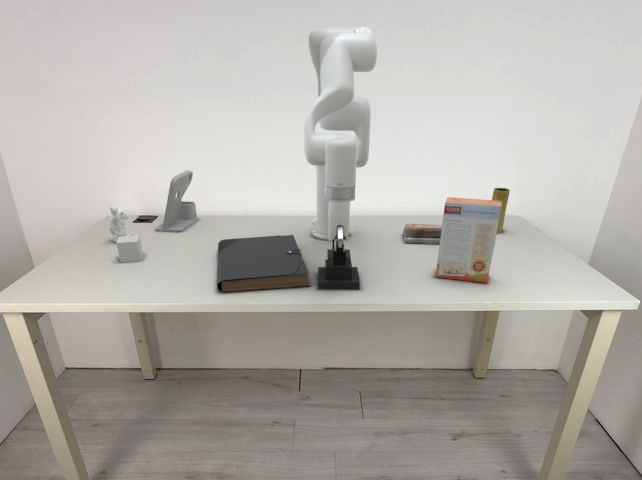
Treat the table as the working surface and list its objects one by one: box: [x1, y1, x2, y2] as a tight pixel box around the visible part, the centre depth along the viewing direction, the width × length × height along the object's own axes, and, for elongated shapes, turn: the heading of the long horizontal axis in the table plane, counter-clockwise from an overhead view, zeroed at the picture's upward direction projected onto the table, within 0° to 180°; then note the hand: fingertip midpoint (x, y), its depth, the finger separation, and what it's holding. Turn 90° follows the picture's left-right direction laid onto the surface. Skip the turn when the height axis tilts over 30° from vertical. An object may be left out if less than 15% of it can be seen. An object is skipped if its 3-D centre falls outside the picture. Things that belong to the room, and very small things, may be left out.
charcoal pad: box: [324, 258, 353, 279], centre depth 126 cm, size 7×7×3 cm
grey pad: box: [326, 248, 352, 268], centre depth 125 cm, size 6×6×3 cm
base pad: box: [317, 266, 361, 290], centre depth 128 cm, size 11×11×2 cm
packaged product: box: [402, 223, 442, 245], centre depth 158 cm, size 18×5×10 cm
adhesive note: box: [115, 234, 144, 263], centre depth 142 cm, size 6×6×6 cm
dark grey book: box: [216, 234, 310, 294], centre depth 136 cm, size 33×4×24 cm
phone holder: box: [155, 169, 199, 233], centre depth 168 cm, size 17×10×18 cm, turn 172°
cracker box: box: [435, 196, 502, 284], centre depth 126 cm, size 14×6×21 cm, turn 71°
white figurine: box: [108, 205, 133, 243], centre depth 154 cm, size 8×7×12 cm
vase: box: [491, 187, 511, 234], centre depth 164 cm, size 6×6×14 cm
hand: (338, 258), depth 125 cm, fingers open, 9 cm apart
